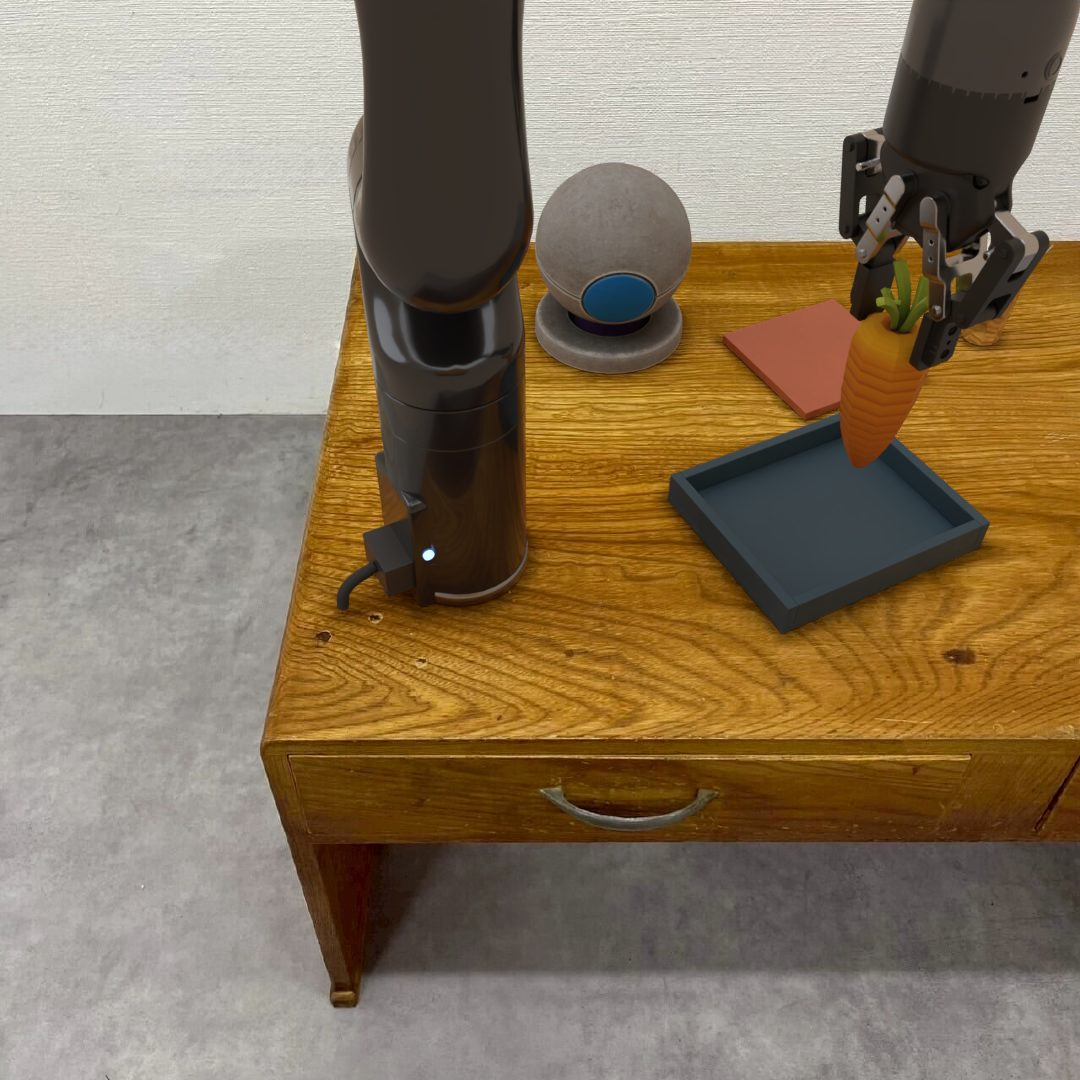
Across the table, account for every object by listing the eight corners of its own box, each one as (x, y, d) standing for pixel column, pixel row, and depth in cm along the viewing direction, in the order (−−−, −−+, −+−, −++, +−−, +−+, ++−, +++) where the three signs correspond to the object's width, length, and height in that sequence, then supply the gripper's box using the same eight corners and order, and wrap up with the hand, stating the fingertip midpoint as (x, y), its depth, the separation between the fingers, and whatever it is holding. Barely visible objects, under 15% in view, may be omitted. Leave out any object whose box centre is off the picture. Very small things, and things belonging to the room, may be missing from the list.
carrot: (896, 497, 72) (962, 301, 62) (818, 486, 73) (870, 290, 62) (894, 448, 76) (957, 253, 65) (820, 437, 76) (870, 243, 66)
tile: (804, 420, 91) (806, 413, 90) (721, 341, 98) (722, 334, 98) (919, 378, 95) (922, 371, 94) (831, 305, 102) (833, 298, 101)
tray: (782, 634, 75) (788, 609, 74) (667, 499, 84) (670, 474, 82) (980, 547, 81) (991, 522, 79) (853, 429, 90) (860, 404, 88)
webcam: (671, 287, 104) (687, 133, 93) (691, 372, 95) (711, 213, 84) (531, 291, 103) (531, 136, 92) (538, 377, 95) (539, 217, 84)
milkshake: (1007, 360, 96) (1045, 259, 89) (946, 340, 98) (978, 239, 91) (1021, 333, 99) (1059, 233, 92) (961, 314, 101) (994, 215, 94)
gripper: (828, 13, 58) (773, 294, 70) (1030, 131, 49) (927, 428, 61) (940, -10, 60) (868, 265, 73) (1151, 98, 51) (1029, 389, 64)
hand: (895, 338), depth 67 cm, fingers closed on carrot, 5 cm apart
